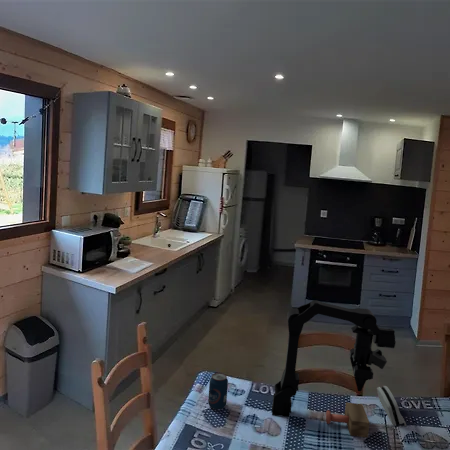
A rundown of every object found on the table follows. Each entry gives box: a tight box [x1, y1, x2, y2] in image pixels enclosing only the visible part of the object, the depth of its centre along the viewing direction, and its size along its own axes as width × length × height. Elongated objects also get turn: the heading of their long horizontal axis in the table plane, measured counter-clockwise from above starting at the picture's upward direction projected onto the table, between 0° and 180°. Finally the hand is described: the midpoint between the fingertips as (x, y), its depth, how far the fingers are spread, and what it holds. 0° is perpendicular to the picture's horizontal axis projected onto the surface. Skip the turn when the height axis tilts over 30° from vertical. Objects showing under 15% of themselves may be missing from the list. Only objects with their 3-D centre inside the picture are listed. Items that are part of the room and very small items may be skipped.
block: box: [344, 401, 370, 439], centre depth 160 cm, size 6×12×6 cm, turn 175°
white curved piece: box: [376, 385, 407, 427], centre depth 171 cm, size 17×5×10 cm, turn 177°
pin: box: [325, 410, 349, 425], centre depth 161 cm, size 10×4×4 cm, turn 85°
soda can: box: [207, 372, 229, 410], centre depth 167 cm, size 7×7×12 cm
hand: (357, 384), depth 162 cm, fingers open, 9 cm apart
